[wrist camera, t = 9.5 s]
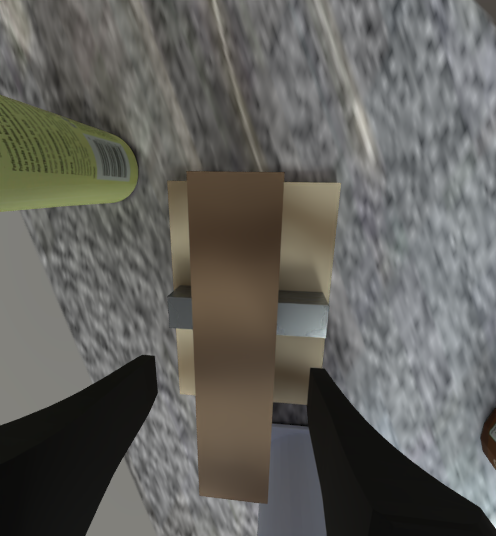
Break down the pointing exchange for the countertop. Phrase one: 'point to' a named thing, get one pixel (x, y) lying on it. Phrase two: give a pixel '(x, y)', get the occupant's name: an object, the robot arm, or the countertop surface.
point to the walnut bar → (234, 326)
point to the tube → (59, 161)
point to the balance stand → (290, 285)
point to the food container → (490, 438)
